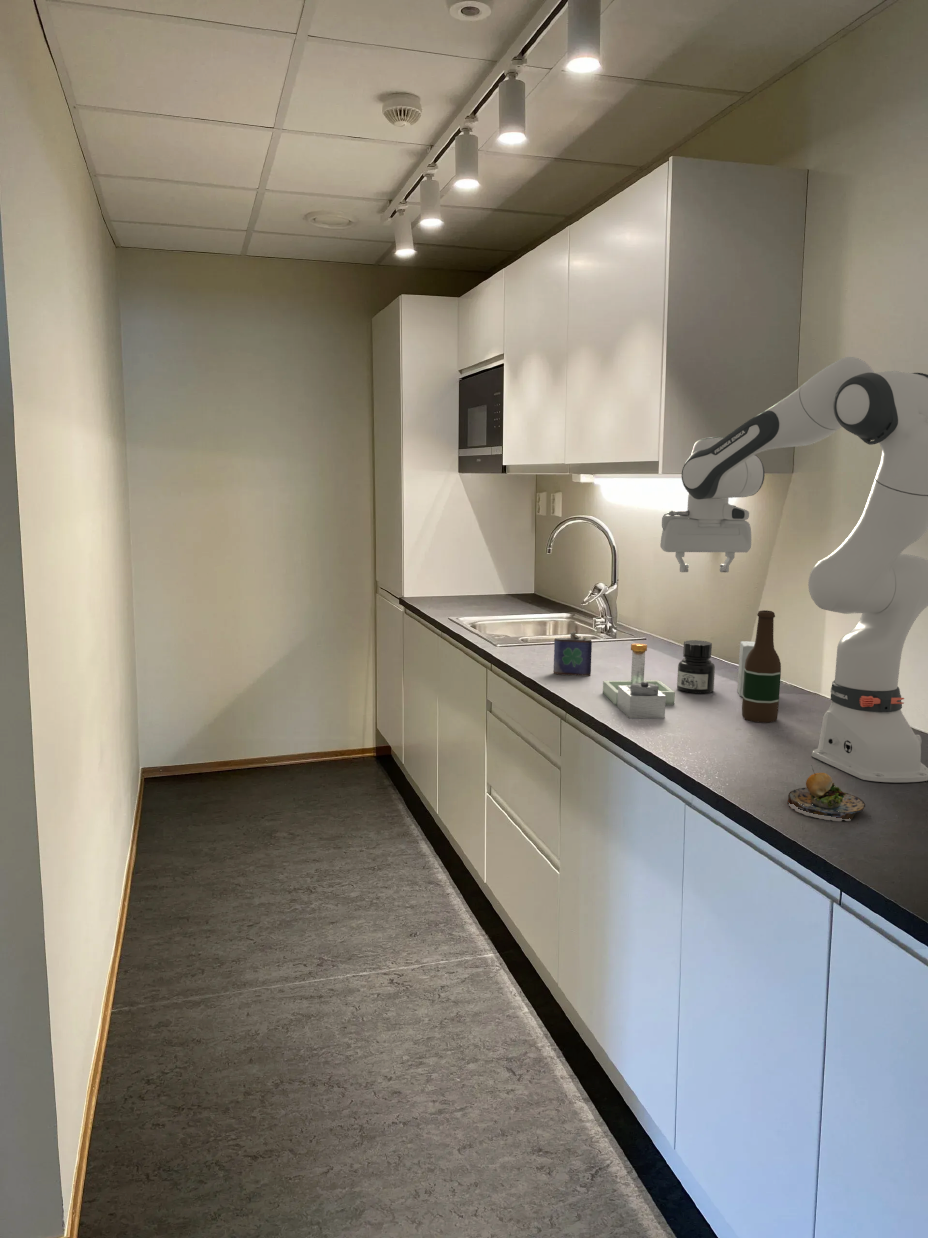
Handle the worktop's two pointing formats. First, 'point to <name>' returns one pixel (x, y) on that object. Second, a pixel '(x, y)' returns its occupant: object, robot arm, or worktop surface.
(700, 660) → the ink bottle
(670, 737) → the worktop surface
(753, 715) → the beer bottle
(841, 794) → the burger
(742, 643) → the supplement box
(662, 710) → the block
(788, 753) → the worktop surface
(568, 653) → the flask
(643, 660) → the pin
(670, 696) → the tray
